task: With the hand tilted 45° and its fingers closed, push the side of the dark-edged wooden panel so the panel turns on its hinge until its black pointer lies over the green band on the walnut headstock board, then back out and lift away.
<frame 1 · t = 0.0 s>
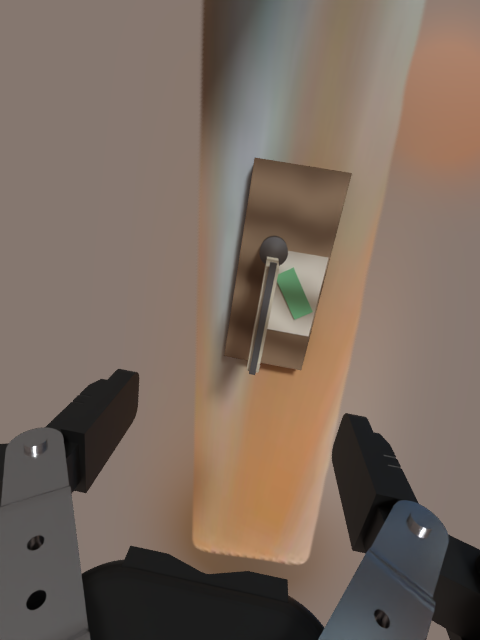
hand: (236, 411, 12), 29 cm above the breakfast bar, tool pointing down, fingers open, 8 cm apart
dark-edged wooden panel: (264, 300, 33), point 8 cm above the breakfast bar, hinge at 0.0°
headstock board: (280, 272, 39), on the breakfast bar
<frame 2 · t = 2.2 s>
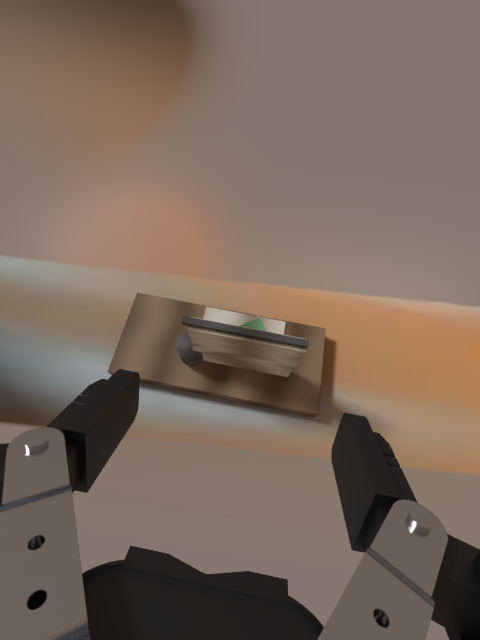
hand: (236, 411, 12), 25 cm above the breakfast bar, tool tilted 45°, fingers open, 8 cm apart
dark-edged wooden panel: (234, 347, 31), point 8 cm above the breakfast bar, hinge at 0.0°
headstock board: (221, 354, 39), on the breakfast bar
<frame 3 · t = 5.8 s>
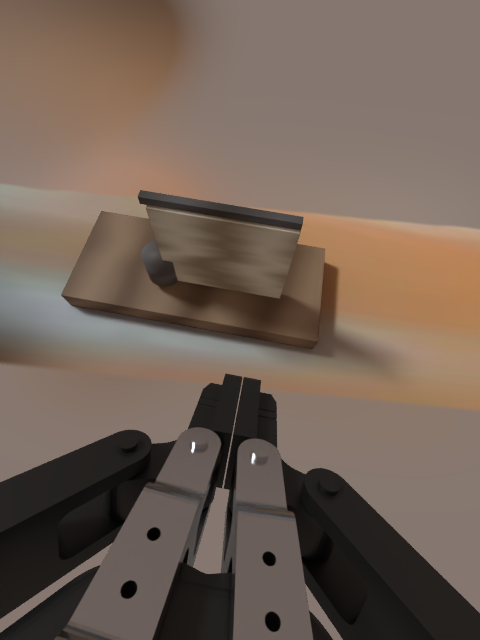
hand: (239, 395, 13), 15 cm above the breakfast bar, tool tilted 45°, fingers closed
dark-edged wooden panel: (212, 249, 25), point 8 cm above the breakfast bar, hinge at 0.0°
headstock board: (201, 281, 33), on the breakfast bar
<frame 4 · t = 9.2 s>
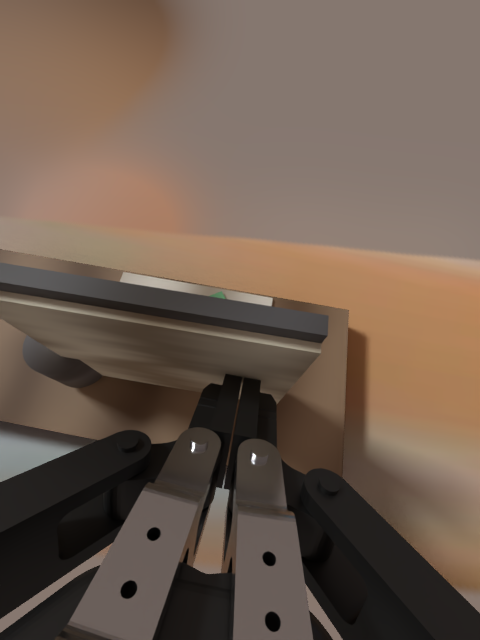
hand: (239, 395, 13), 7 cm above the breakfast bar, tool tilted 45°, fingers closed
dark-edged wooden panel: (144, 346, 13), point 8 cm above the breakfast bar, hinge at 0.9°, touching gripper
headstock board: (152, 361, 21), on the breakfast bar
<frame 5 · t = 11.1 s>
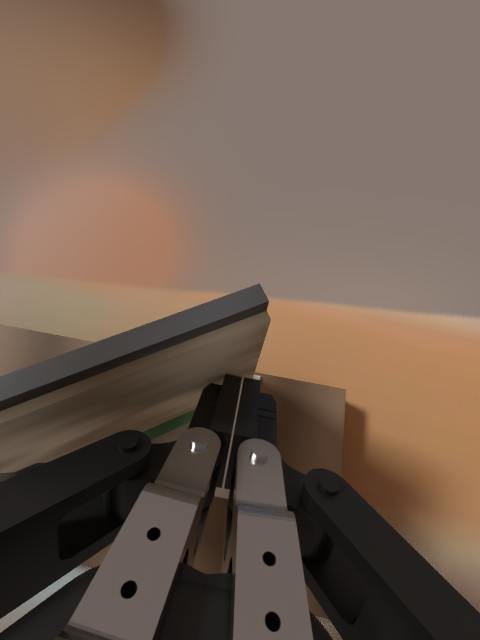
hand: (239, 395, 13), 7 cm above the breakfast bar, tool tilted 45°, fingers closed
dark-edged wooden panel: (101, 408, 12), point 8 cm above the breakfast bar, hinge at 33.5°, touching gripper
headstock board: (125, 445, 18), on the breakfast bar
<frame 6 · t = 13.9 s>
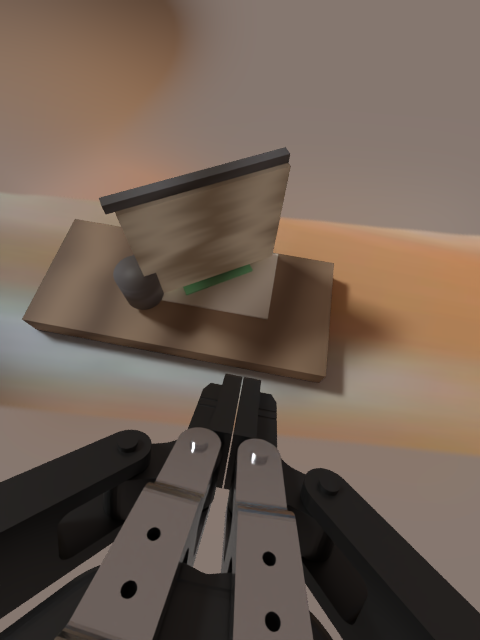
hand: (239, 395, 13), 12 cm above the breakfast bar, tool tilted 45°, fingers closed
dark-edged wooden panel: (195, 235, 22), point 8 cm above the breakfast bar, hinge at 33.8°
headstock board: (190, 300, 28), on the breakfast bar
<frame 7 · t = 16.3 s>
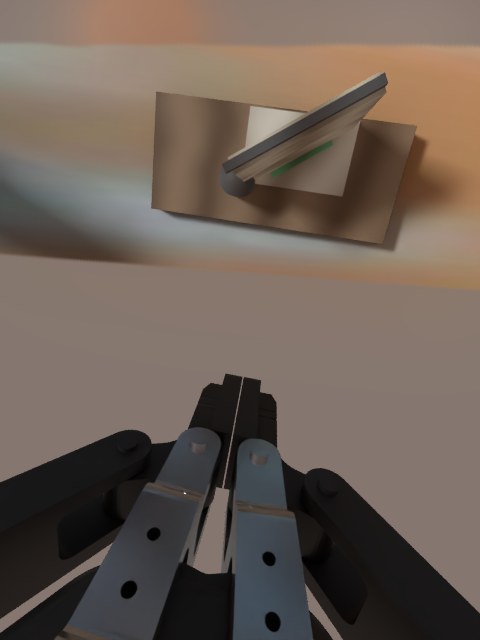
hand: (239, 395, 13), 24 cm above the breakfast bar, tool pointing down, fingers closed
dark-edged wooden panel: (286, 146, 25), point 8 cm above the breakfast bar, hinge at 33.8°
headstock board: (273, 172, 32), on the breakfast bar
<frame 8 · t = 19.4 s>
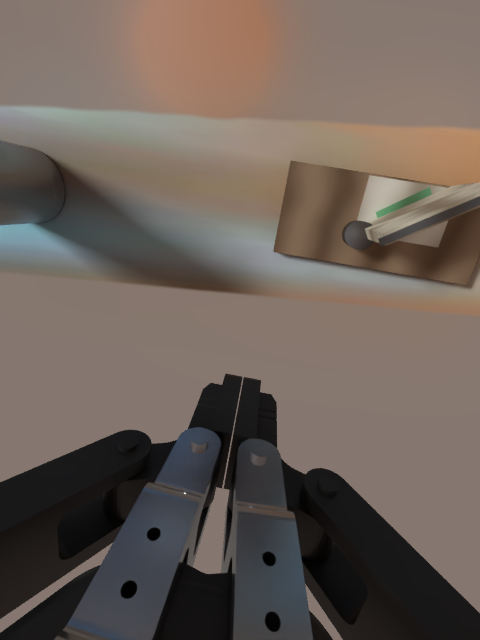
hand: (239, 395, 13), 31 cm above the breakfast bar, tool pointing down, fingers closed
dark-edged wooden panel: (413, 217, 31), point 8 cm above the breakfast bar, hinge at 33.8°
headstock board: (376, 224, 39), on the breakfast bar
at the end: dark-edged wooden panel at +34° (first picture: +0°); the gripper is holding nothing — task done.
